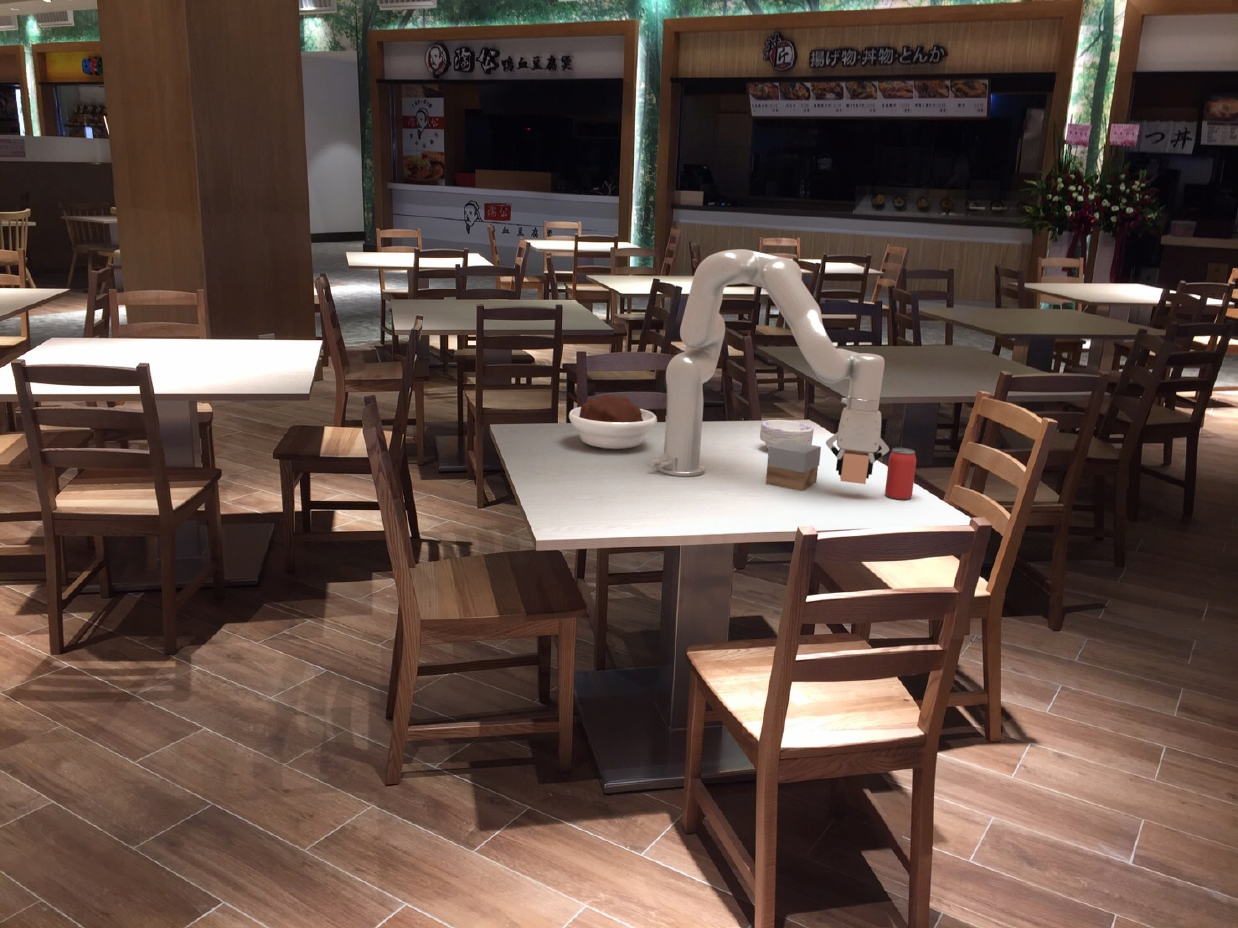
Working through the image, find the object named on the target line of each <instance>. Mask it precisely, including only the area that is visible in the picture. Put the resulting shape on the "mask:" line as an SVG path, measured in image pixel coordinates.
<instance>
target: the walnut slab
mask: <svg viewBox="0 0 1238 928" xmlns="http://www.w3.org/2000/svg"><path fill="white" fill-rule="evenodd" d="M818 470H819V466H817V467H815V468H812V469H810V470H808V471H806V472H804V473H803V472H797V471H792V470H787V469H782V468H777V467H772V466H766V477H765V485H768V486H773V487H779V488H784V489H789V490H795V491H799V492H804V491H805V490H807V489H809V488H810V487H812V486H814V485H815V484H817V479H818Z"/></svg>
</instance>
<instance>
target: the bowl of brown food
mask: <svg viewBox="0 0 1238 928" xmlns="http://www.w3.org/2000/svg"><path fill="white" fill-rule="evenodd" d="M568 418H569V421H570V423H571V425H572V426H573V427H574V429H576V431H577V433H578V436H579V438H580V439H581V440H580V441H582V442H583V443H584V444H587V445H589V446H590V447H591V446H592V447H595V448H602V449H606V450H621V449H622V450H623V449H630V448H634V447H637V446H639V445H641V444H643V441H644V439H645V437H646V435H647V434H648V433H649V432H650V431H651V430H652V429H653V428H654V426H655V424H656V423H657V416H656V414H654V412H652V411H650V410H646V409H643V408H640V407H638V406H637V405H636V404H634V403H632V402H631V400H630V398H629V397H628V396H614V395H611V394H602V395H600V396H599V397H598V398H591V397H590V398H588V399H587V400H586V401H585V402H584V403H582V405H581V406H579V407H575V408H573V409H571V410H570V411H569V413H568Z"/></svg>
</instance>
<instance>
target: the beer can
mask: <svg viewBox="0 0 1238 928" xmlns="http://www.w3.org/2000/svg"><path fill="white" fill-rule="evenodd" d="M916 465H917V457H916V451H915V450H913V449H910V448H908V447H907V448H905V447H894V448H892V449H891V452H890V455H889V457H888V464H887V472H886V479H885V480H886V481H885V489H884V494H885V496H886V497H888V498H890V499H893V500H900V501H903V500H904V501H905V500H909V499H911V498H912V496H913V491H914V483H915V475H916V474H915V473H916Z"/></svg>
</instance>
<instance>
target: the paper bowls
mask: <svg viewBox="0 0 1238 928" xmlns="http://www.w3.org/2000/svg"><path fill="white" fill-rule="evenodd" d="M814 431H815V430H814V427H813V426H812V425H809V424H807V423H804V422H799V421H794V420H792V421H791V420H786V419H785V420H783V419H770V420H769V419H768V420H764V421H762V422H761V423H760V431H759V432H760V433H759V439H760V440H761V441H762V442H764V443H765V446H766V448H767V450H769V446H772V445H775V444H777V443H780V442H782V441H785V440H787V441H792V442H798V443H804V444H809V445H813V444H812V443H813V437H814Z"/></svg>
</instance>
